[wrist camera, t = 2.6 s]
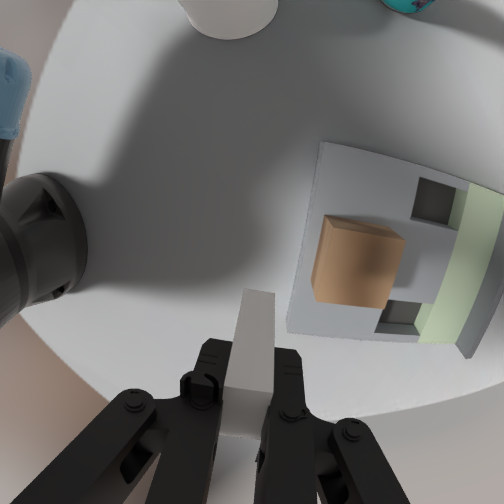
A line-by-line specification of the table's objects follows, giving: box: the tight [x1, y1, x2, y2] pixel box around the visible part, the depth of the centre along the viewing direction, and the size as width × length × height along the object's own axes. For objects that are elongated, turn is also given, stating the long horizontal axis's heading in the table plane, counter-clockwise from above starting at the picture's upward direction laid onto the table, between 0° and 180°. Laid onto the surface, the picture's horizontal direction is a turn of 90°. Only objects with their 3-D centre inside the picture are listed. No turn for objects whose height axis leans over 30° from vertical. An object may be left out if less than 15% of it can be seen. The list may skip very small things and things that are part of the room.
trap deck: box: [286, 141, 504, 359], centre depth 25 cm, size 22×18×5 cm
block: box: [310, 215, 406, 309], centre depth 24 cm, size 6×6×4 cm
